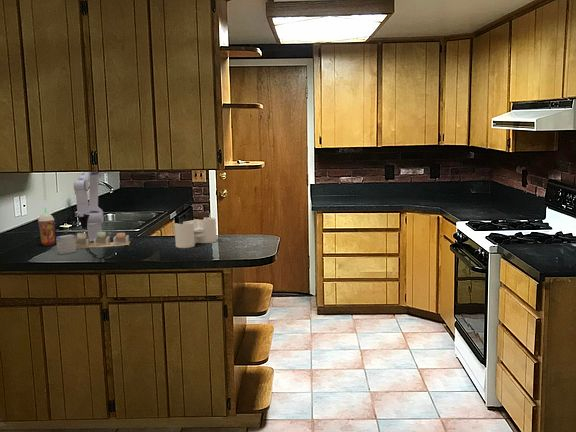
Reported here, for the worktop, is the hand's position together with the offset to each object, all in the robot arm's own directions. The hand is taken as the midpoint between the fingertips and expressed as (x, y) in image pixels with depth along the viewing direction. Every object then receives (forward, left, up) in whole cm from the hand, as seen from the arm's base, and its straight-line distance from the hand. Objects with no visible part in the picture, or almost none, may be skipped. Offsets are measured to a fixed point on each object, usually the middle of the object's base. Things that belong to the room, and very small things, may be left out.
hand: (84, 228), depth 323 cm
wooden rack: (0, +8, -9) cm, 13 cm away
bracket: (+13, +58, -10) cm, 60 cm away
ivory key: (0, -2, -6) cm, 7 cm away
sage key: (0, +8, -6) cm, 10 cm away
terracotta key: (0, +18, -8) cm, 20 cm away
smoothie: (-14, -22, -10) cm, 28 cm away
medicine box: (+16, -7, -10) cm, 20 cm away
